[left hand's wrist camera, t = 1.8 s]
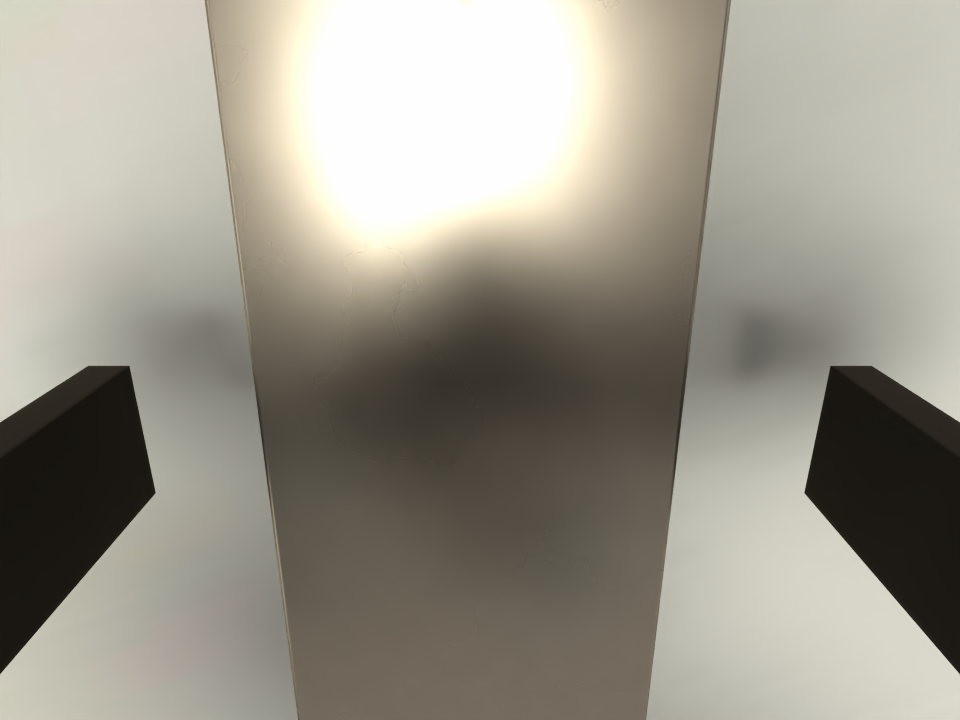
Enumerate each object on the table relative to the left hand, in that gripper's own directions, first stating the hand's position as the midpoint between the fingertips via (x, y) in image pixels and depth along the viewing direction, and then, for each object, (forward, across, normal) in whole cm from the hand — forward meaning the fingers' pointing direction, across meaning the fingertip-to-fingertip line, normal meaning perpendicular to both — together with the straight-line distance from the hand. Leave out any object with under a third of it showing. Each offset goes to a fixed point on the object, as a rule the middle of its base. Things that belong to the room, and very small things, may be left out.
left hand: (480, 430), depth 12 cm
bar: (+5, 0, -7) cm, 9 cm away
